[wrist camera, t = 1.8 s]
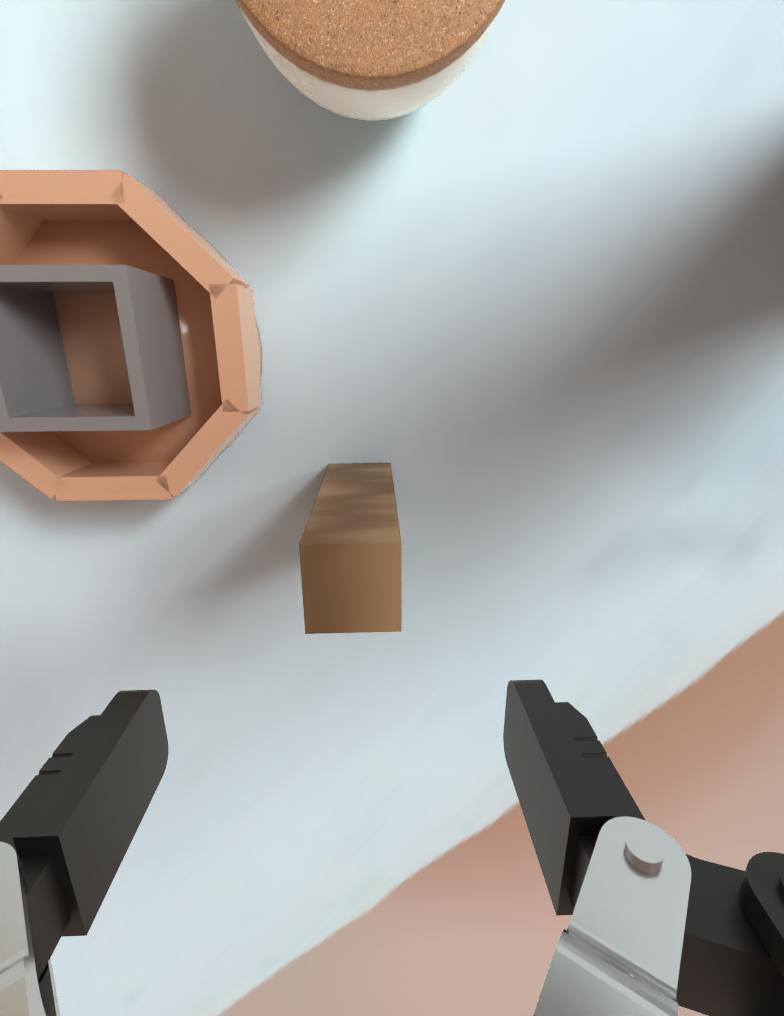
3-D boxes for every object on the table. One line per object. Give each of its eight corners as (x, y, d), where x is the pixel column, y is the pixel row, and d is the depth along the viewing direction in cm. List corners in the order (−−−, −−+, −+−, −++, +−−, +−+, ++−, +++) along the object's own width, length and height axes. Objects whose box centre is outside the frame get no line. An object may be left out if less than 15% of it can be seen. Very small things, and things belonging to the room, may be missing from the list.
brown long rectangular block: (390, 463, 29) (401, 542, 17) (390, 520, 30) (401, 631, 18) (328, 463, 29) (299, 544, 17) (331, 521, 30) (305, 633, 18)
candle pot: (249, 197, 24) (210, 153, 19) (272, 477, 29) (247, 510, 23) (-48, 197, 24) (-179, 151, 18) (22, 481, 28) (-67, 515, 23)
